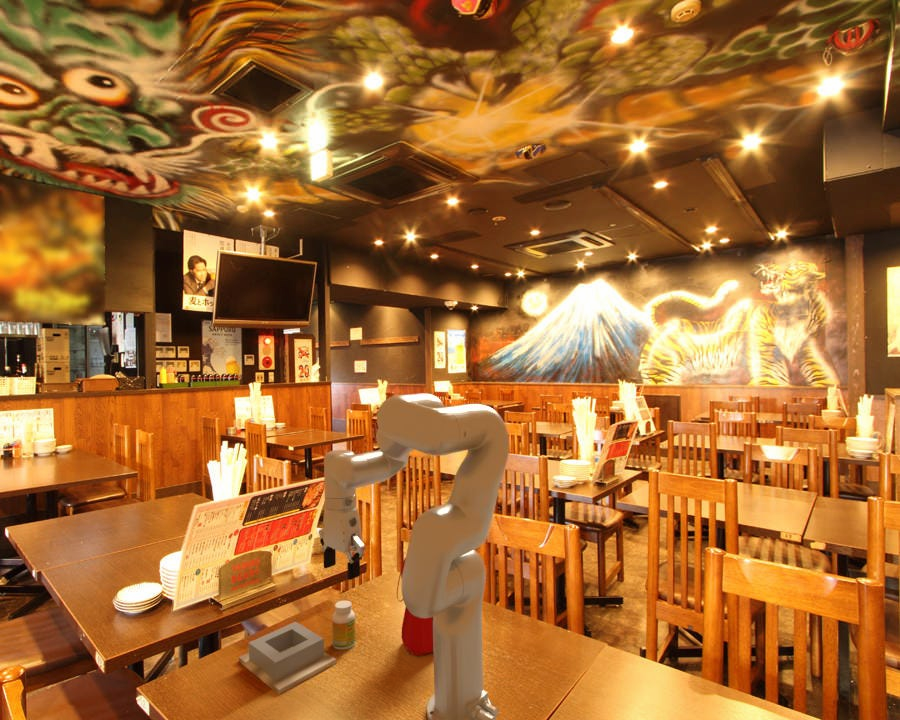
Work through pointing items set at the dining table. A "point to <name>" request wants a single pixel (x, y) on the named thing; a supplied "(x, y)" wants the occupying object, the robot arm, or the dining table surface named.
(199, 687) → the dining table surface
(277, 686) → the gray tray
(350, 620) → the supplement bottle
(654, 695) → the dining table surface
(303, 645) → the socket holder
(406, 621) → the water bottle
